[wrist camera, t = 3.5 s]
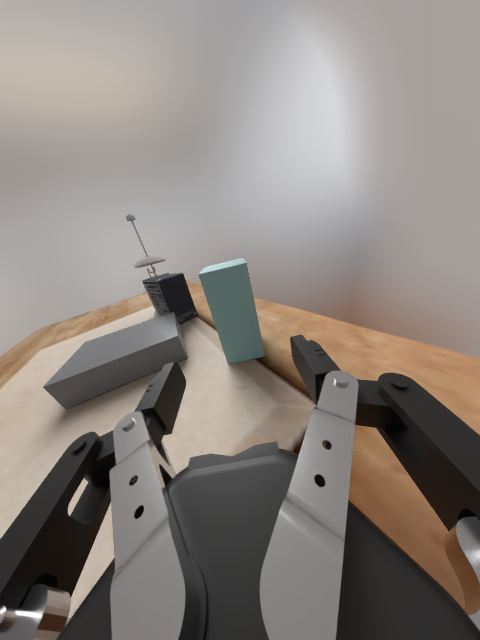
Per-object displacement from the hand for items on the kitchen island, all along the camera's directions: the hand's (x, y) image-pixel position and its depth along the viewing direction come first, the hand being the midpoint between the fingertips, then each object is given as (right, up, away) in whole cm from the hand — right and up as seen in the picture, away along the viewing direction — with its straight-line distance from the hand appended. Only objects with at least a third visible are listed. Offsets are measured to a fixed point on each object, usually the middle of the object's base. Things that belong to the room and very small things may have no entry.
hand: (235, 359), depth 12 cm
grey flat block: (-17, -4, +17) cm, 25 cm away
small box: (-15, +3, +31) cm, 35 cm away
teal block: (+1, -2, +13) cm, 13 cm away
